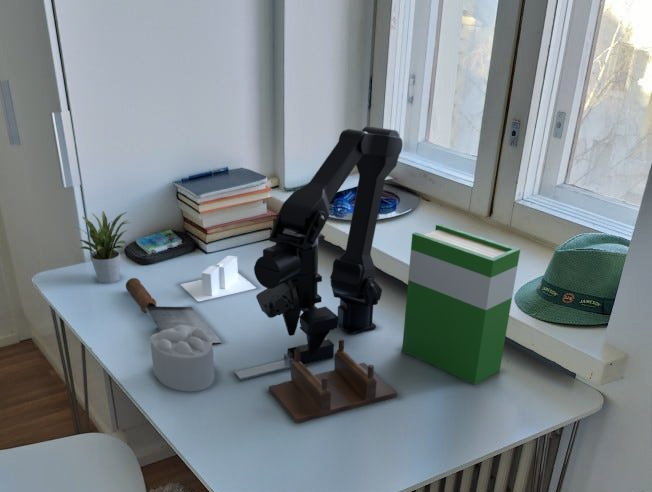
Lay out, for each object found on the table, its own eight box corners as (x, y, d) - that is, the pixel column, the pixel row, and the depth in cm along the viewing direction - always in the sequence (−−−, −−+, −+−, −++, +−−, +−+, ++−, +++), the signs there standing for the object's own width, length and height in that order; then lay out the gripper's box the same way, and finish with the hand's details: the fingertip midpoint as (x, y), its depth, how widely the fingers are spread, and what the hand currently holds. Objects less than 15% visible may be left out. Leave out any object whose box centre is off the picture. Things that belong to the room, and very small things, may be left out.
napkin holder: (236, 271, 189) (235, 249, 186) (257, 288, 181) (256, 264, 177) (179, 284, 184) (177, 261, 181) (198, 302, 175) (196, 278, 172)
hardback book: (402, 350, 154) (412, 233, 140) (426, 338, 157) (439, 223, 144) (474, 384, 142) (493, 260, 129) (499, 370, 146) (520, 249, 132)
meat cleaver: (222, 342, 159) (221, 324, 157) (170, 354, 156) (168, 336, 153) (170, 284, 185) (168, 268, 183) (124, 293, 182) (122, 277, 179)
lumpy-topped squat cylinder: (193, 354, 155) (190, 314, 151) (227, 380, 146) (225, 340, 141) (147, 369, 151) (142, 329, 146) (179, 398, 142) (174, 356, 137)
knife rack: (364, 366, 149) (366, 332, 145) (397, 396, 140) (400, 360, 135) (268, 390, 143) (268, 354, 139) (296, 423, 134) (296, 386, 129)
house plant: (151, 268, 193) (144, 203, 183) (132, 291, 181) (123, 224, 172) (97, 265, 195) (88, 201, 186) (75, 288, 184) (64, 221, 175)
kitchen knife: (327, 351, 154) (328, 338, 153) (334, 357, 152) (334, 344, 150) (234, 374, 148) (233, 360, 147) (240, 380, 146) (239, 367, 145)
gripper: (241, 259, 145) (244, 333, 154) (283, 297, 131) (283, 376, 140) (295, 249, 149) (295, 322, 157) (341, 285, 134) (338, 363, 143)
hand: (301, 345), depth 149 cm, fingers open, 9 cm apart
